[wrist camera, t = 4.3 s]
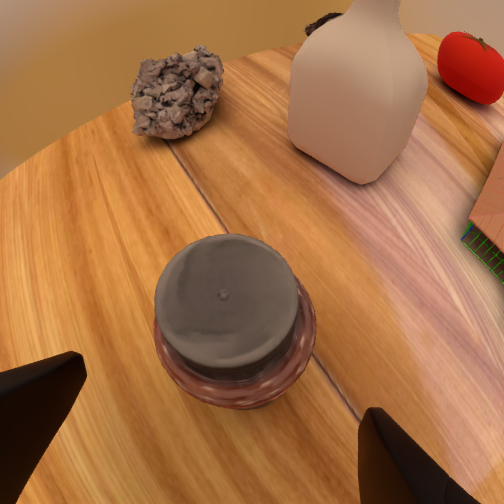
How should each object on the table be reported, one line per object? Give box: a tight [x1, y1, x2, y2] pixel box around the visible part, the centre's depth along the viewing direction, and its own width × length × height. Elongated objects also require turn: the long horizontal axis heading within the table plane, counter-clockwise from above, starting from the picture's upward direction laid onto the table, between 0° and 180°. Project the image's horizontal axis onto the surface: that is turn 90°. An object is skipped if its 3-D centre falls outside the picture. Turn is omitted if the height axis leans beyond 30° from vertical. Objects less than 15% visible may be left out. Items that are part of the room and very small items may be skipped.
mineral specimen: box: [131, 45, 224, 139], centre depth 27 cm, size 12×9×10 cm
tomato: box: [437, 32, 504, 105], centre depth 31 cm, size 13×14×12 cm
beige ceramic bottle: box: [287, 0, 428, 185], centre depth 17 cm, size 10×10×23 cm
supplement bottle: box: [154, 234, 316, 410], centre depth 13 cm, size 6×6×11 cm
